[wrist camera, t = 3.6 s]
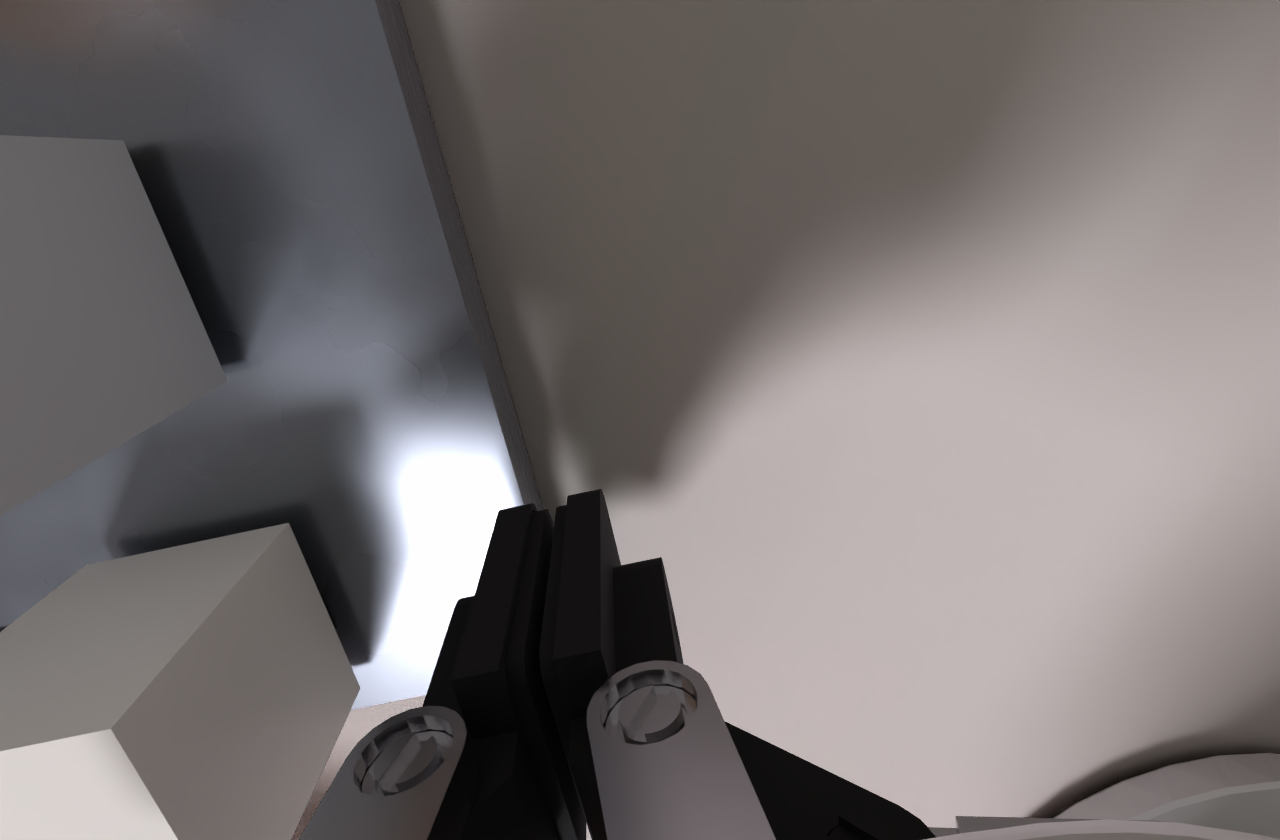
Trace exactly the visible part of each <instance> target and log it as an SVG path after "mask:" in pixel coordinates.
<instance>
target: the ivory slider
mask: <svg viewBox="0 0 1280 840" xmlns="http://www.w3.org/2000/svg"><path fill="white" fill-rule="evenodd" d="M359 690H360V686H359V683H358V681H357V679H356V677H355V674H354V672H353V670H352V667H351V665H350V663H349V660H348V658H347V656H346V653H345V651H344V649H343V647H342V644H341V642H340V640H339V637H338V635H337V633H336V630H335V628H334V626H333V623H332V621H331V619H330V617H329V614H328V612H327V610H326V607H325V605H324V603H323V600H322V598H321V596H320V593H319V591H318V589H317V587H316V584H315V582H314V580H313V577H312V575H311V573H310V570H309V568H308V566H307V563H306V561H305V559H304V557H303V554H302V552H301V550H300V547H299V545H298V543H297V540H296V538H295V536H294V533H293V531H292V529H291V527H290V524H289V523H285V524H280V525H276V526H271V527H266V528H261V529H256V530H252V531H247V532H242V533H237V534H232V535H228V536H223V537H218V538H213V539H208V540H204V541H199V542H194V543H189V544H184V545H180V546H175V547H170V548H165V549H161V550H156V551H151V552H146V553H141V554H137V555H132V556H127V557H122V558H117V559H113V560H108V561H103V562H98V563H93V564H89V565H85V566H84V567H83V568H81V569H80V570H79V571H78V572H76V573H75V574H74V575H72V576H71V577H70V578H69V579H67V580H66V581H65V582H63V583H62V584H61V585H60V586H58V587H57V588H56V589H55V590H53V591H52V592H51V593H49V594H48V595H47V596H46V597H44V598H43V599H42V600H41V601H39V602H38V603H37V604H35V605H34V606H33V607H32V608H30V609H29V610H28V611H26V612H25V613H24V614H23V615H21V616H20V617H19V618H18V619H16V620H15V621H14V622H12V623H11V624H10V625H9V626H7V627H6V628H5V629H4V630H2V631H1V632H0V840H291V839H292V837H293V835H294V833H295V830H296V828H297V826H298V824H299V822H300V819H301V817H302V815H303V813H304V811H305V809H306V806H307V804H308V802H309V800H310V798H311V795H312V793H313V791H314V789H315V787H316V784H317V782H318V780H319V778H320V776H321V774H322V771H323V769H324V767H325V765H326V763H327V760H328V758H329V756H330V754H331V752H332V749H333V747H334V745H335V743H336V741H337V739H338V736H339V734H340V732H341V730H342V728H343V725H344V723H345V721H346V719H347V717H348V714H349V712H350V710H351V708H352V706H353V704H354V701H355V699H356V697H357V695H358V693H359Z"/></svg>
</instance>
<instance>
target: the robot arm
mask: <svg viewBox="0 0 1280 840" xmlns="http://www.w3.org/2000/svg"><path fill="white" fill-rule="evenodd" d="M586 822H587V825H588V828H589V832H590V835H591V838H592V840H1280V754H1274V753H1255V754H1236V755H1218V756H1212V757H1207V758H1202V759H1197V760H1192V761H1187V762H1182V763H1177V764H1171V765H1167V766H1164V767H1161V768H1158V769H1156V770H1153V771H1150V772H1147V773H1144V774H1141V775H1138V776H1135V777H1132V778H1129V779H1126V780H1123V781H1120V782H1118V783H1116V784H1114V785H1112V786H1110V787H1108V788H1106V789H1104V790H1101V791H1099V792H1097V793H1095V794H1093V795H1091V796H1089V797H1087V798H1085V799H1083V800H1081V801H1079V802H1077V803H1075V804H1073V805H1072V806H1070V807H1069V808H1067V809H1066V810H1064V811H1063V812H1061V813H1060V814H1058V815H1057V816H1055V817H1054V818H1017V817H974V816H956V828H934V827H927V826H926V825H925V824H924V823H923V822H922V821H921V820H920V819H919V818H917V817H916V816H914V815H913V814H911V813H910V812H908V811H907V810H905V809H903V808H902V807H900V806H899V805H897V804H894V803H892V802H890V801H888V800H886V799H884V798H882V797H880V796H878V795H876V794H874V793H872V792H870V791H868V790H866V789H863V788H861V787H859V786H857V785H855V784H853V783H851V782H849V781H847V780H845V779H843V778H841V777H839V776H837V775H834V774H832V773H830V772H828V771H826V770H824V769H822V768H820V767H818V766H816V765H814V764H812V763H810V762H808V761H806V760H803V759H801V758H799V757H797V756H795V755H793V754H791V753H789V752H787V751H785V750H783V749H781V748H779V747H777V746H775V745H772V744H770V743H768V742H766V741H764V740H762V739H760V738H758V737H756V736H754V735H752V734H750V733H748V732H746V731H744V730H741V729H739V728H737V727H735V726H733V725H731V724H729V723H727V722H725V721H724V719H723V717H722V715H721V712H720V710H719V708H718V706H717V703H716V701H715V699H714V696H713V694H712V692H711V690H710V687H709V685H708V684H707V682H706V681H705V680H704V678H703V677H702V675H701V674H700V673H698V672H697V671H695V670H694V669H692V668H691V667H689V666H688V665H684V664H683V659H682V653H681V647H680V642H679V636H678V631H677V626H676V621H675V616H674V611H673V606H672V602H671V597H670V592H669V588H668V583H667V579H666V574H665V570H664V565H663V561H662V558H661V557H660V558H656V559H651V560H646V561H641V562H636V563H631V564H626V565H621V563H620V559H619V555H618V551H617V547H616V543H615V539H614V534H613V530H612V526H611V522H610V518H609V514H608V510H607V506H606V502H605V498H604V495H603V492H602V490H601V489H599V490H594V491H589V492H584V493H579V494H575V495H570V496H568V498H567V505H565V506H560V507H557V508H556V516H555V524H554V526H553V522H552V519H551V515H550V513H549V511H548V509H545V510H541V511H537V508H536V506H535V505H534V504H533V503H531V504H526V505H521V506H516V507H511V508H506V509H502V510H499V512H498V514H497V518H496V521H495V525H494V528H493V532H492V535H491V539H490V542H489V546H488V549H487V553H486V556H485V560H484V563H483V567H482V570H481V574H480V577H479V581H478V584H477V588H476V591H475V595H474V596H469V597H464V598H461V599H459V600H458V601H457V603H456V605H455V607H454V610H453V613H452V616H451V620H450V623H449V626H448V629H447V632H446V635H445V638H444V641H443V644H442V648H441V651H440V654H439V657H438V660H437V663H436V666H435V669H434V672H433V676H432V679H431V682H430V685H429V688H428V691H427V694H426V697H425V700H424V704H423V707H419V708H414V709H410V710H407V711H405V712H403V713H400V714H398V715H395V716H393V717H391V718H389V719H388V720H386V721H384V722H383V723H381V724H380V725H378V726H377V727H375V728H373V729H372V730H371V731H370V732H369V733H368V734H367V735H366V736H365V737H364V738H362V739H361V740H360V741H359V742H358V743H357V745H356V746H355V747H354V749H353V750H352V751H351V753H350V754H349V755H348V757H347V758H346V760H345V761H344V763H343V765H342V767H341V768H340V770H339V772H338V773H337V775H336V777H335V779H334V780H333V782H332V784H331V785H330V787H329V789H328V791H327V792H326V794H325V796H324V797H323V799H322V801H321V803H320V804H319V806H318V808H317V809H316V811H315V813H314V815H313V816H312V818H311V820H310V822H309V823H308V825H307V827H306V828H305V830H304V832H303V834H302V835H301V837H300V839H299V840H586Z"/></svg>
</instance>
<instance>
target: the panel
mask: <svg viewBox="0 0 1280 840" xmlns="http://www.w3.org/2000/svg"><path fill="white" fill-rule="evenodd" d="M0 135H9V136H33V137H56V138H80V139H103V140H123V141H124V143H125V146H126V148H127V150H128V153H129V155H130V157H131V160H132V162H133V164H134V166H135V169H136V171H137V173H138V176H139V178H140V180H141V183H142V185H143V187H144V190H145V192H146V194H147V196H148V199H149V201H150V203H151V206H152V208H153V210H154V213H155V215H156V217H157V220H158V222H159V224H160V226H161V229H162V231H163V233H164V236H165V238H166V240H167V243H168V245H169V247H170V250H171V252H172V254H173V256H174V259H175V261H176V263H177V266H178V268H179V270H180V273H181V275H182V277H183V280H184V282H185V284H186V286H187V289H188V291H189V293H190V296H191V298H192V300H193V303H194V305H195V307H196V310H197V312H198V314H199V317H200V319H201V321H202V323H203V326H204V328H205V330H206V333H207V335H208V337H209V340H210V342H211V344H212V347H213V349H214V351H215V353H216V356H217V358H218V360H219V363H220V365H221V367H222V370H223V372H224V374H225V377H226V379H227V381H228V382H226V383H224V384H223V385H221V386H219V387H218V388H216V389H214V390H212V391H211V392H209V393H207V394H206V395H204V396H202V397H201V398H199V399H197V400H195V401H194V402H192V403H190V404H189V405H187V406H185V407H184V408H182V409H180V410H179V411H177V412H175V413H173V414H172V415H170V416H168V417H167V418H165V419H163V420H162V421H160V422H158V423H157V424H155V425H153V426H151V427H150V428H148V429H146V430H145V431H143V432H141V433H140V434H138V435H136V436H135V437H133V438H131V439H129V440H128V441H126V442H124V443H123V444H121V445H119V446H118V447H116V448H114V449H113V450H111V451H109V452H107V453H106V454H104V455H102V456H101V457H99V458H97V459H96V460H94V461H92V462H90V463H89V464H87V465H85V466H84V467H82V468H80V469H79V470H77V471H75V472H74V473H72V474H70V475H68V476H67V477H65V478H63V479H62V480H60V481H58V482H57V483H55V484H53V485H52V486H50V487H48V488H46V489H45V490H43V491H41V492H40V493H38V494H36V495H35V496H33V497H31V498H30V499H28V500H26V501H24V502H23V503H21V504H19V505H18V506H16V507H14V508H13V509H11V510H9V511H7V512H6V513H4V514H2V515H1V516H0V632H1V631H2V630H4V629H5V628H6V627H7V626H9V625H10V624H11V623H12V622H14V621H15V620H16V619H18V618H19V617H20V616H21V615H23V614H24V613H25V612H26V611H28V610H29V609H30V608H32V607H33V606H34V605H35V604H37V603H38V602H39V601H41V600H42V599H43V598H44V597H46V596H47V595H48V594H49V593H51V592H52V591H53V590H55V589H56V588H57V587H58V586H60V585H61V584H62V583H63V582H65V581H66V580H67V579H69V578H70V577H71V576H72V575H74V574H75V573H76V572H78V571H79V570H80V569H81V568H83V567H84V566H85V565H89V564H93V563H98V562H103V561H108V560H113V559H117V558H122V557H127V556H132V555H137V554H141V553H146V552H151V551H156V550H161V549H165V548H170V547H175V546H180V545H184V544H189V543H194V542H199V541H204V540H208V539H213V538H218V537H223V536H228V535H232V534H237V533H242V532H247V531H252V530H256V529H261V528H266V527H271V526H276V525H280V524H285V523H289V524H290V527H291V529H292V531H293V533H294V536H295V538H296V540H297V543H298V545H299V547H300V550H301V552H302V554H303V557H304V559H305V561H306V563H307V566H308V568H309V570H310V573H311V575H312V577H313V580H314V582H315V584H316V587H317V589H318V591H319V593H320V596H321V598H322V600H323V603H324V605H325V607H326V610H327V612H328V614H329V617H330V619H331V621H332V623H333V626H334V628H335V630H336V633H337V635H338V637H339V640H340V642H341V644H342V647H343V649H344V651H345V653H346V656H347V658H348V660H349V663H350V665H351V667H352V670H353V672H354V674H355V677H356V679H357V681H358V683H359V686H360V690H359V693H358V695H357V697H356V699H355V701H354V704H353V706H352V708H351V710H354V709H359V708H363V707H368V706H373V705H378V704H383V703H388V702H393V701H398V700H403V699H408V698H413V697H418V696H423V695H426V694H427V691H428V688H429V685H430V682H431V679H432V676H433V672H434V669H435V666H436V663H437V660H438V657H439V654H440V651H441V648H442V644H443V641H444V638H445V635H446V632H447V629H448V626H449V623H450V620H451V616H452V613H453V610H454V607H455V605H456V603H457V601H458V600H459V599H461V598H464V597H469V596H474V595H475V591H476V588H477V584H478V581H479V577H480V574H481V570H482V567H483V563H484V560H485V556H486V553H487V549H488V546H489V542H490V539H491V535H492V532H493V528H494V525H495V521H496V518H497V514H498V512H499V510H502V509H506V508H511V507H516V506H521V505H526V504H531V503H533V504H534V505H535V506H536V508H537V511H541V510H543V507H542V503H541V500H540V496H539V492H538V489H537V485H536V482H535V478H534V475H533V471H532V468H531V464H530V461H529V457H528V454H527V450H526V447H525V443H524V440H523V436H522V433H521V429H520V426H519V422H518V419H517V415H516V412H515V408H514V405H513V401H512V398H511V394H510V391H509V387H508V384H507V380H506V377H505V373H504V370H503V366H502V363H501V359H500V356H499V352H498V349H497V345H496V341H495V338H494V334H493V331H492V327H491V324H490V320H489V317H488V313H487V310H486V306H485V303H484V299H483V296H482V292H481V289H480V285H479V282H478V278H477V275H476V271H475V268H474V264H473V261H472V257H471V254H470V250H469V247H468V243H467V240H466V236H465V233H464V229H463V226H462V222H461V219H460V215H459V212H458V208H457V205H456V201H455V197H454V194H453V190H452V187H451V183H450V180H449V176H448V173H447V169H446V166H445V162H444V159H443V155H442V152H441V148H440V145H439V141H438V138H437V134H436V131H435V127H434V124H433V120H432V117H431V113H430V110H429V106H428V103H427V99H426V96H425V92H424V89H423V85H422V82H421V78H420V75H419V71H418V68H417V64H416V61H415V57H414V54H413V50H412V46H411V43H410V39H409V36H408V32H407V29H406V25H405V22H404V18H403V15H402V11H401V8H400V4H399V1H398V0H0Z"/></svg>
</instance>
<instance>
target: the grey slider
mask: <svg viewBox="0 0 1280 840" xmlns="http://www.w3.org/2000/svg"><path fill="white" fill-rule="evenodd" d="M226 382H228V381H227V379H226V377H225V374H224V372H223V370H222V367H221V365H220V363H219V360H218V358H217V356H216V353H215V351H214V349H213V347H212V344H211V342H210V340H209V337H208V335H207V333H206V330H205V328H204V326H203V323H202V321H201V319H200V317H199V314H198V312H197V310H196V307H195V305H194V303H193V300H192V298H191V296H190V293H189V291H188V289H187V286H186V284H185V282H184V280H183V277H182V275H181V273H180V270H179V268H178V266H177V263H176V261H175V259H174V256H173V254H172V252H171V250H170V247H169V245H168V243H167V240H166V238H165V236H164V233H163V231H162V229H161V226H160V224H159V222H158V220H157V217H156V215H155V213H154V210H153V208H152V206H151V203H150V201H149V199H148V196H147V194H146V192H145V190H144V187H143V185H142V183H141V180H140V178H139V176H138V173H137V171H136V169H135V166H134V164H133V162H132V160H131V157H130V155H129V153H128V150H127V148H126V146H125V143H124V141H123V140H103V139H80V138H56V137H33V136H9V135H0V516H1V515H2V514H4V513H6V512H7V511H9V510H11V509H13V508H14V507H16V506H18V505H19V504H21V503H23V502H24V501H26V500H28V499H30V498H31V497H33V496H35V495H36V494H38V493H40V492H41V491H43V490H45V489H46V488H48V487H50V486H52V485H53V484H55V483H57V482H58V481H60V480H62V479H63V478H65V477H67V476H68V475H70V474H72V473H74V472H75V471H77V470H79V469H80V468H82V467H84V466H85V465H87V464H89V463H90V462H92V461H94V460H96V459H97V458H99V457H101V456H102V455H104V454H106V453H107V452H109V451H111V450H113V449H114V448H116V447H118V446H119V445H121V444H123V443H124V442H126V441H128V440H129V439H131V438H133V437H135V436H136V435H138V434H140V433H141V432H143V431H145V430H146V429H148V428H150V427H151V426H153V425H155V424H157V423H158V422H160V421H162V420H163V419H165V418H167V417H168V416H170V415H172V414H173V413H175V412H177V411H179V410H180V409H182V408H184V407H185V406H187V405H189V404H190V403H192V402H194V401H195V400H197V399H199V398H201V397H202V396H204V395H206V394H207V393H209V392H211V391H212V390H214V389H216V388H218V387H219V386H221V385H223V384H224V383H226Z"/></svg>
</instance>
